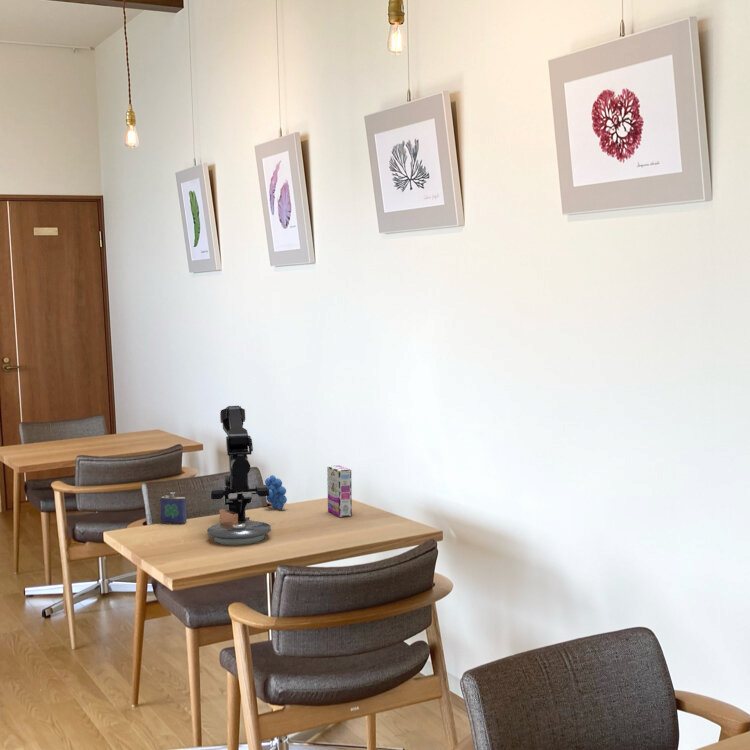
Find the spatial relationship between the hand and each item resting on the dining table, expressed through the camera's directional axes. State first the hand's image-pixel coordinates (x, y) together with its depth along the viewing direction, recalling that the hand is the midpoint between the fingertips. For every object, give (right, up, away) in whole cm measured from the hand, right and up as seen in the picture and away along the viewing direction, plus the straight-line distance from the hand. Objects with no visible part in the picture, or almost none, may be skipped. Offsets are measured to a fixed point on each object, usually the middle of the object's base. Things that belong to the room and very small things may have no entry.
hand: (240, 518), depth 320 cm
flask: (-25, -4, +14) cm, 29 cm away
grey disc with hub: (0, -3, -8) cm, 9 cm away
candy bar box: (+32, -2, +24) cm, 40 cm away
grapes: (+7, -2, +33) cm, 34 cm away
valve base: (+1, -5, -8) cm, 10 cm away
